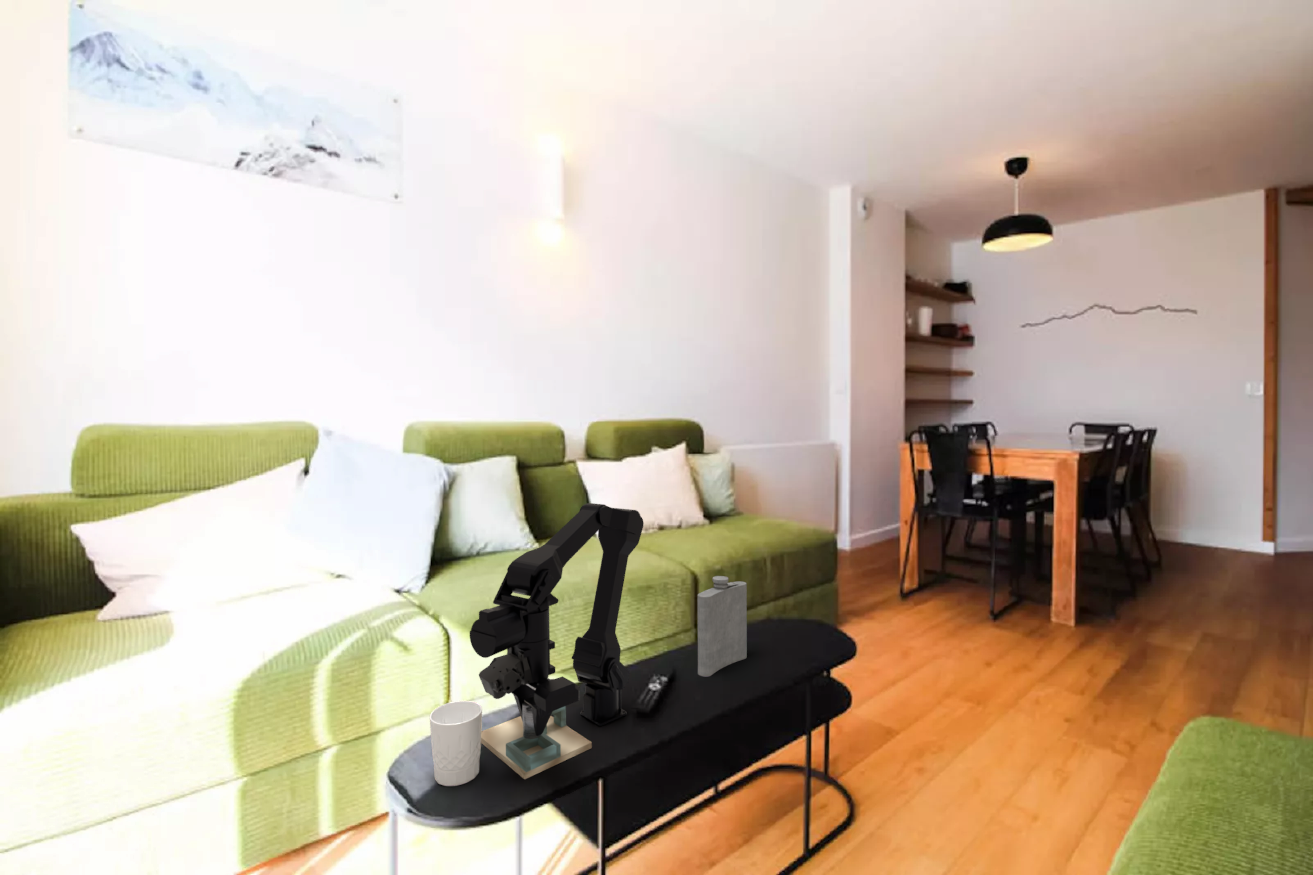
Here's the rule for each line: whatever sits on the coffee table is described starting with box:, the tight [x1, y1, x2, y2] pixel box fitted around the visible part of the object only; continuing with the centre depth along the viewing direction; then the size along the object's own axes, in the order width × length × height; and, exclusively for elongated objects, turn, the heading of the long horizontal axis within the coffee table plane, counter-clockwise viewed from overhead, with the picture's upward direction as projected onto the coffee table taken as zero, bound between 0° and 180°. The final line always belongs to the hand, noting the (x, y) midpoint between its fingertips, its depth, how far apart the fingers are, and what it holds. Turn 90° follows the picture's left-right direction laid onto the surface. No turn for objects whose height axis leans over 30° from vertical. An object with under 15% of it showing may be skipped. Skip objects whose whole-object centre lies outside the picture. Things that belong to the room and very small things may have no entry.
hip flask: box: [697, 575, 748, 678], centre depth 137 cm, size 16×4×20 cm, turn 136°
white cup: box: [429, 700, 483, 787], centre depth 95 cm, size 8×8×10 cm
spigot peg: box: [522, 702, 543, 739], centre depth 98 cm, size 3×3×5 cm
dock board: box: [481, 706, 593, 780], centre depth 104 cm, size 13×16×5 cm
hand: (533, 730), depth 98 cm, fingers closed on spigot peg, 3 cm apart
